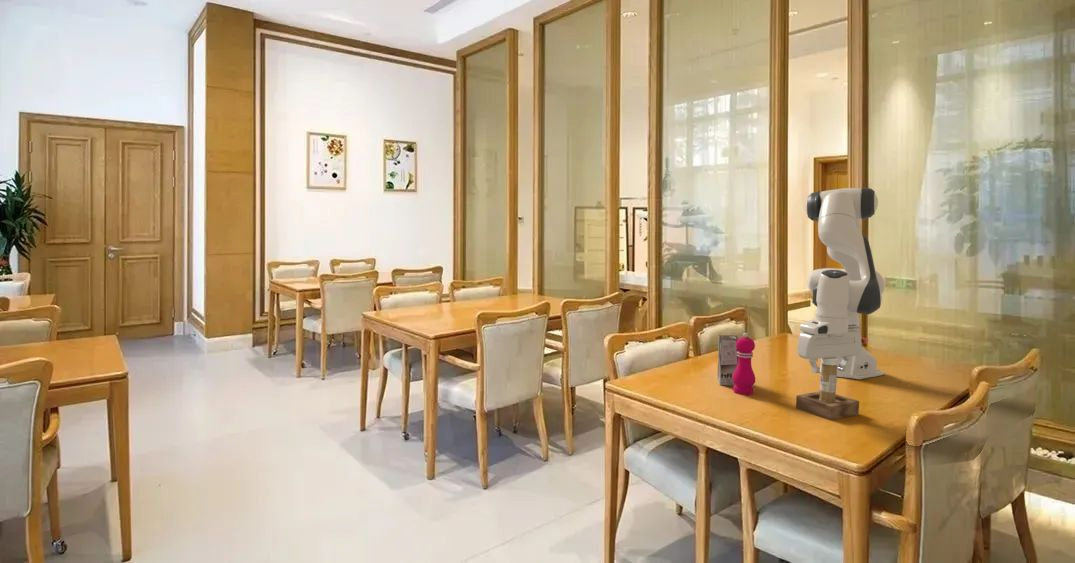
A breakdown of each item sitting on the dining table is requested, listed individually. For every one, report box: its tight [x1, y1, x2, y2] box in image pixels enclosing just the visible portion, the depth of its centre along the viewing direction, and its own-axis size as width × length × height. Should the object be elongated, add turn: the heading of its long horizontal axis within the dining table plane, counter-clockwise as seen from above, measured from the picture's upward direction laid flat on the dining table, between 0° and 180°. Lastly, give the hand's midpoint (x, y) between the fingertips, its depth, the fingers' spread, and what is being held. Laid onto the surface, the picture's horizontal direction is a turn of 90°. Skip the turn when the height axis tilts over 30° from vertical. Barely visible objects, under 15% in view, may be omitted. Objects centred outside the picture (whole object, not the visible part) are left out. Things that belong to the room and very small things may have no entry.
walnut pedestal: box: [795, 390, 860, 421], centre depth 179 cm, size 12×12×4 cm
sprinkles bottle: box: [819, 357, 838, 403], centre depth 178 cm, size 5×5×14 cm
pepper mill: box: [732, 332, 756, 396], centre depth 198 cm, size 7×7×20 cm
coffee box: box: [717, 334, 739, 387], centre depth 210 cm, size 9×6×16 cm
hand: (828, 371), depth 178 cm, fingers open, 8 cm apart
